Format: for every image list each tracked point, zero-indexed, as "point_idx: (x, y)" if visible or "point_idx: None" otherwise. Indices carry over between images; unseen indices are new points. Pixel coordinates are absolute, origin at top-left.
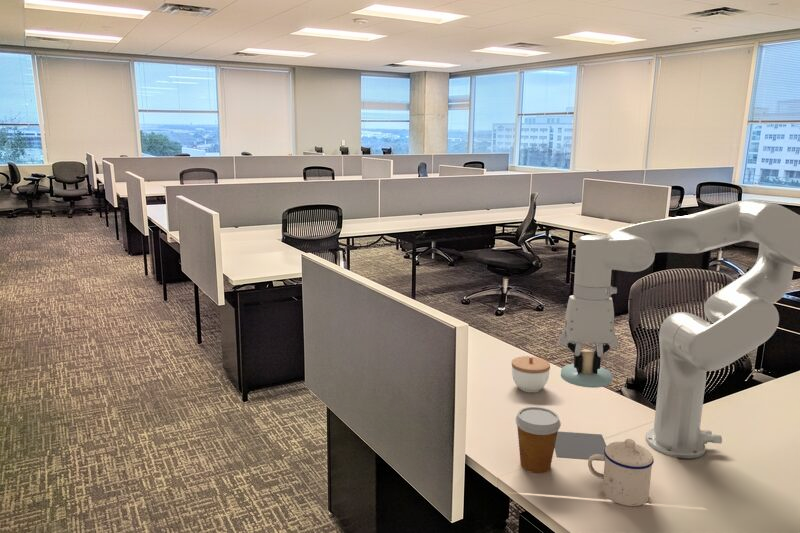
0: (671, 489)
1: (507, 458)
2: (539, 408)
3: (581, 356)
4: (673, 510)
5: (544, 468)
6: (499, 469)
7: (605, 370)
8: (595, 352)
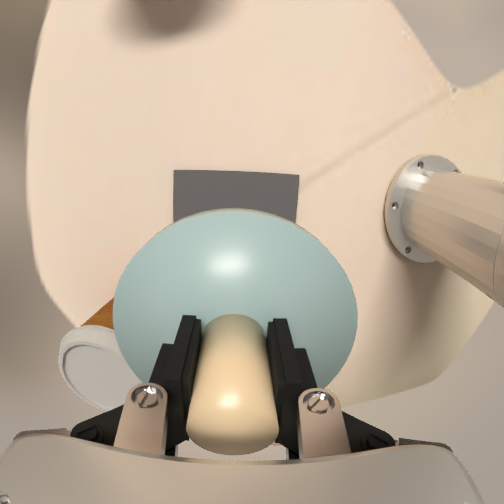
0: (353, 348)
1: (90, 289)
2: (97, 345)
3: (188, 439)
4: (329, 389)
5: None
6: (84, 322)
7: (342, 305)
8: (284, 436)
